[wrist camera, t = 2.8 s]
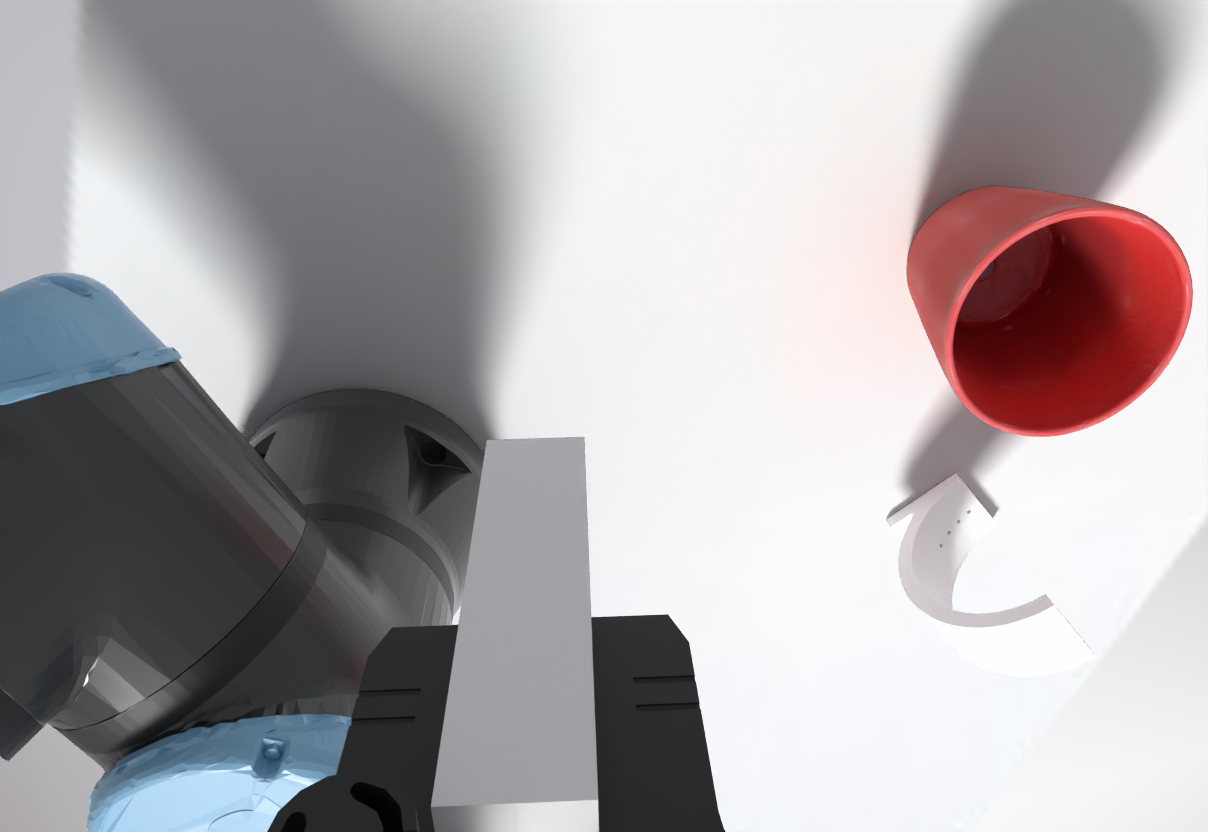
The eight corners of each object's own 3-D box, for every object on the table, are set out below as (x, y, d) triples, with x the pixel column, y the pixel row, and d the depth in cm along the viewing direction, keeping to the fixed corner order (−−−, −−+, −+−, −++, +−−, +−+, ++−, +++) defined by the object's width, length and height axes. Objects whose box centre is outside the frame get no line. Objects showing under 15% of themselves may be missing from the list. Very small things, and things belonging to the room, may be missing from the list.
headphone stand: (993, 518, 55) (1096, 657, 45) (910, 571, 57) (990, 717, 46) (956, 471, 53) (1054, 605, 43) (871, 528, 55) (946, 669, 45)
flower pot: (883, 371, 50) (950, 462, 41) (869, 180, 45) (942, 238, 36) (1074, 331, 49) (1182, 414, 41) (1081, 131, 44) (1208, 179, 36)
